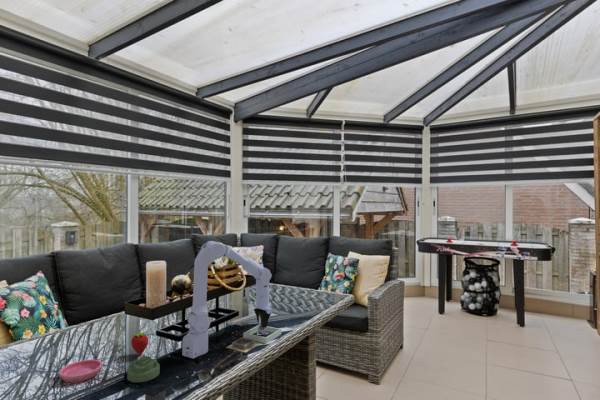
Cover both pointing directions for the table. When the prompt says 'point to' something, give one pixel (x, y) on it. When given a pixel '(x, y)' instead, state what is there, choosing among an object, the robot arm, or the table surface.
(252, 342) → the socket block
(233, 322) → the adjustable wrench
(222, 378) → the table surface
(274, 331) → the bin
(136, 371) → the decorative artifact
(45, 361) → the table surface
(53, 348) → the table surface
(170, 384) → the table surface
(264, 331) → the strut
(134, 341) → the strawberry
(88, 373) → the saucer
